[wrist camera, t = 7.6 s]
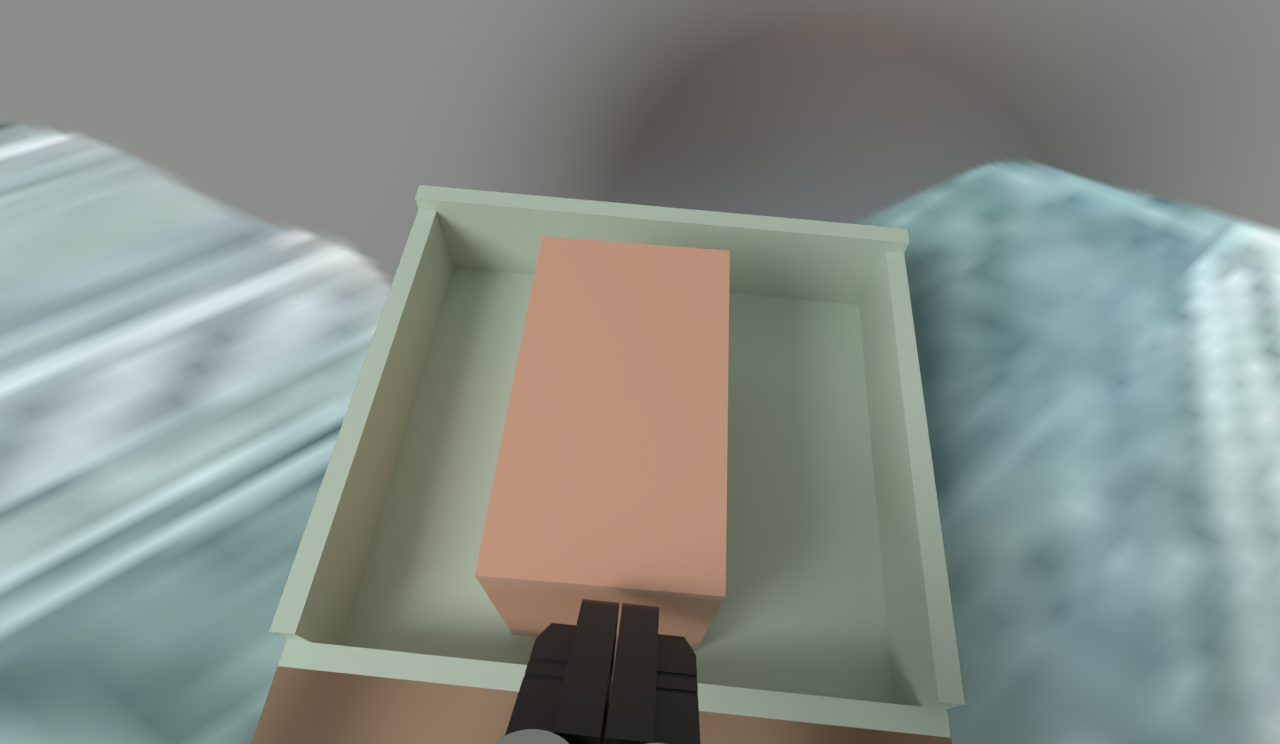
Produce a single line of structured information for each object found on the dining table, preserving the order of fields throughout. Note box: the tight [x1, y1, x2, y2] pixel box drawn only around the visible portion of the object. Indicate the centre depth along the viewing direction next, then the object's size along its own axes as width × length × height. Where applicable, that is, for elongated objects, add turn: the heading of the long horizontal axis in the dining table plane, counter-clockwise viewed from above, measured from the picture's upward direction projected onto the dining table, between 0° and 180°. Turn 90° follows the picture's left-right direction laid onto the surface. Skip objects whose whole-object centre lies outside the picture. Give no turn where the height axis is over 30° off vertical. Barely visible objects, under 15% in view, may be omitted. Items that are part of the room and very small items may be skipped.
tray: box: [269, 185, 965, 738], centre depth 21 cm, size 16×15×4 cm
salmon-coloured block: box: [475, 236, 730, 651], centre depth 19 cm, size 5×6×9 cm
